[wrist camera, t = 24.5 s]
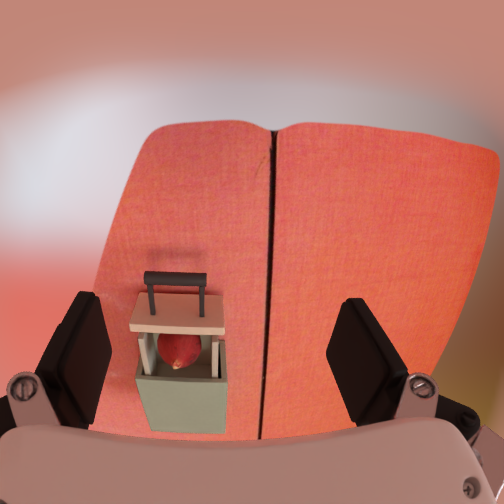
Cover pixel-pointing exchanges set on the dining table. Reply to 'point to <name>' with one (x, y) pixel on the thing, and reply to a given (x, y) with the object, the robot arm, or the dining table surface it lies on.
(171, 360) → the onion
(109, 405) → the dining table surface
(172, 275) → the drawer
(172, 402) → the cabinet
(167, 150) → the dining table surface
